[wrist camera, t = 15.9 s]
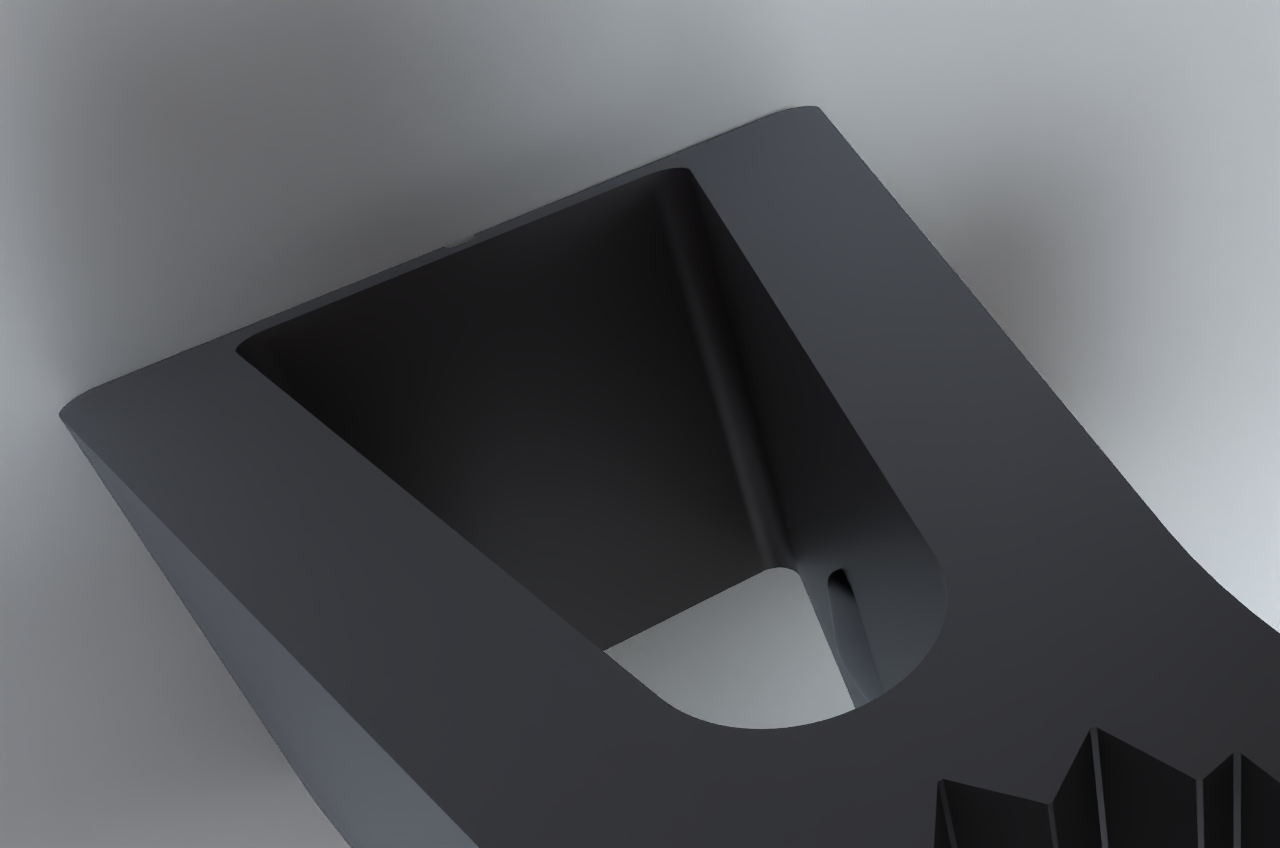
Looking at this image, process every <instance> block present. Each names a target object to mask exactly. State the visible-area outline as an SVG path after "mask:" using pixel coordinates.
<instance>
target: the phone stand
mask: <svg viewBox="0 0 1280 848" xmlns="http://www.w3.org/2000/svg"><path fill="white" fill-rule="evenodd" d="M59 417H60V418H61V420H62V421H63V423H64V424H65V426H66V427H67V429H68V430H69V432H70V433H71V435H72V436H73V438H74V439H75V441H76V442H77V444H78V445H79V447H80V448H81V450H82V451H83V453H84V454H85V456H86V457H87V459H88V460H89V462H90V463H91V465H92V466H93V468H94V469H95V471H96V472H97V474H98V475H99V477H100V478H101V480H102V481H103V483H104V484H105V486H106V487H107V489H108V490H109V492H110V493H111V495H112V496H113V498H114V499H115V501H116V502H117V504H118V505H119V507H120V509H121V510H122V512H123V513H124V515H125V516H126V518H127V519H128V521H129V522H130V524H131V525H132V527H133V528H134V530H135V531H136V533H137V534H138V536H139V537H140V539H141V540H142V542H143V543H144V545H145V546H146V548H147V549H148V551H149V552H150V554H151V555H152V557H153V558H154V560H155V561H156V563H157V564H158V566H159V567H160V569H161V570H162V572H163V573H164V575H165V576H166V578H167V579H168V581H169V582H170V584H171V585H172V587H173V588H174V590H175V591H176V593H177V594H178V596H179V597H180V599H181V600H182V602H183V604H184V605H185V607H186V608H187V610H188V611H189V613H190V614H191V616H192V617H193V619H194V620H195V622H196V623H197V625H198V626H199V628H200V629H201V631H202V632H203V634H204V635H205V637H206V638H207V640H208V641H209V643H210V644H211V646H212V647H213V649H214V650H215V652H216V653H217V655H218V656H219V658H220V659H221V661H222V662H223V664H224V665H225V667H226V668H227V670H228V671H229V673H230V674H231V676H232V677H233V679H234V680H235V682H236V683H237V685H238V686H239V688H240V689H241V691H242V692H243V694H244V696H245V697H246V699H247V700H248V702H249V703H250V705H251V706H252V708H253V709H254V711H255V712H256V714H257V715H258V717H259V718H260V720H261V721H262V723H263V724H264V726H265V727H266V729H267V730H268V732H269V733H270V735H271V736H272V738H273V739H274V741H275V742H276V744H277V745H278V747H279V748H280V750H281V751H282V753H283V754H284V756H285V757H286V759H287V760H288V762H289V763H290V765H291V766H292V768H293V769H294V771H295V772H296V774H297V775H298V777H299V778H300V780H301V781H302V783H303V784H304V786H305V788H306V789H307V791H308V792H309V794H310V795H311V797H312V798H313V800H314V801H315V802H316V804H317V805H318V806H319V807H320V809H321V810H322V811H323V812H324V814H325V815H326V816H327V818H328V819H329V820H330V821H331V823H332V824H333V825H334V826H335V828H336V829H337V830H338V831H339V833H340V834H341V835H342V836H343V838H344V839H345V840H346V841H347V843H348V844H349V845H350V846H351V848H1280V633H1278V632H1277V631H1276V630H1274V629H1273V628H1272V627H1271V626H1269V625H1268V624H1267V623H1265V622H1264V621H1263V620H1261V619H1260V618H1259V617H1258V616H1256V615H1255V614H1254V613H1252V612H1251V611H1250V610H1249V609H1248V608H1247V607H1245V606H1244V605H1243V604H1242V603H1241V602H1240V601H1238V600H1237V599H1236V598H1235V597H1234V596H1233V595H1231V594H1230V593H1229V592H1228V591H1227V590H1226V589H1224V588H1223V587H1222V586H1221V585H1220V584H1219V583H1218V582H1217V581H1216V580H1215V579H1214V578H1213V577H1212V576H1211V575H1209V574H1208V573H1207V572H1206V571H1205V570H1204V569H1203V568H1202V567H1201V566H1200V565H1199V564H1198V563H1197V562H1196V561H1195V560H1194V559H1193V558H1192V557H1191V556H1190V555H1189V554H1188V553H1187V551H1186V550H1185V549H1184V548H1183V547H1182V546H1181V545H1180V544H1179V542H1178V541H1177V540H1176V539H1175V538H1174V537H1173V536H1172V535H1171V533H1170V532H1169V531H1168V530H1167V529H1166V528H1165V526H1164V525H1163V524H1162V523H1161V522H1160V520H1159V519H1158V518H1157V517H1156V515H1155V514H1154V513H1153V512H1152V511H1151V509H1150V508H1149V507H1148V506H1147V505H1146V503H1145V502H1144V501H1143V500H1142V499H1141V497H1140V496H1139V495H1138V494H1137V492H1136V491H1135V490H1134V489H1133V488H1132V486H1131V485H1130V484H1129V483H1128V482H1127V480H1126V479H1125V478H1124V477H1123V475H1122V474H1121V473H1120V472H1119V471H1118V469H1117V468H1116V467H1115V466H1114V465H1113V463H1112V462H1111V461H1110V460H1109V458H1108V457H1107V456H1106V455H1105V454H1104V452H1103V451H1102V450H1101V449H1100V448H1099V446H1098V445H1097V444H1096V443H1095V442H1094V440H1093V439H1092V438H1091V437H1090V435H1089V434H1088V433H1087V432H1086V431H1085V429H1084V428H1083V427H1082V426H1081V425H1080V423H1079V422H1078V421H1077V420H1076V418H1075V417H1074V416H1073V415H1072V414H1071V412H1070V411H1069V410H1068V409H1067V408H1066V406H1065V405H1064V404H1063V403H1062V401H1061V400H1060V399H1059V398H1058V397H1057V395H1056V394H1055V393H1054V392H1053V391H1052V389H1051V388H1050V387H1049V386H1048V385H1047V383H1046V382H1045V381H1044V380H1043V378H1042V377H1041V376H1040V375H1039V374H1038V372H1037V371H1036V370H1035V369H1034V368H1033V366H1032V365H1031V364H1030V363H1029V361H1028V360H1027V359H1026V358H1025V357H1024V355H1023V354H1022V353H1021V352H1020V351H1019V349H1018V348H1017V347H1016V346H1015V345H1014V343H1013V342H1012V341H1011V340H1010V338H1009V337H1008V336H1007V335H1006V334H1005V332H1004V331H1003V330H1002V329H1001V328H1000V326H999V325H998V324H997V323H996V321H995V320H994V319H993V318H992V317H991V315H990V314H989V313H988V312H987V311H986V309H985V308H984V307H983V306H982V304H981V303H980V302H979V301H978V300H977V298H976V297H975V296H974V295H973V294H972V292H971V291H970V290H969V289H968V288H967V286H966V285H965V284H964V283H963V281H962V280H961V279H960V278H959V277H958V275H957V274H956V273H955V272H954V271H953V269H952V268H951V267H950V266H949V264H948V263H947V262H946V261H945V260H944V258H943V257H942V256H941V255H940V254H939V252H938V251H937V250H936V249H935V247H934V246H933V245H932V244H931V243H930V241H929V240H928V239H927V238H926V237H925V235H924V234H923V233H922V232H921V231H920V229H919V228H918V227H917V226H916V224H915V223H914V222H913V221H912V220H911V218H910V217H909V216H908V215H907V214H906V212H905V211H904V210H903V209H902V207H901V206H900V205H899V204H898V203H897V201H896V200H895V199H894V198H893V197H892V195H891V194H890V193H889V192H888V190H887V189H886V188H885V187H884V186H883V184H882V183H881V182H880V181H879V180H878V178H877V177H876V176H875V175H874V174H873V172H872V171H871V170H870V169H869V167H868V166H867V165H866V164H865V163H864V161H863V160H862V159H861V158H860V157H859V155H858V154H857V153H856V152H855V150H854V149H853V148H852V147H851V146H850V144H849V143H848V142H847V141H846V140H845V138H844V137H843V136H842V135H841V133H840V132H839V131H838V130H837V129H836V127H835V126H834V125H833V124H832V123H831V121H830V120H829V119H828V118H827V117H826V115H825V114H824V113H823V112H822V110H821V109H820V108H819V107H816V106H803V107H796V108H791V109H787V110H784V111H781V112H778V113H775V114H772V115H770V116H768V117H765V118H763V119H760V120H758V121H755V122H753V123H750V124H748V125H745V126H743V127H740V128H738V129H735V130H733V131H730V132H728V133H725V134H723V135H720V136H718V137H715V138H713V139H711V140H708V141H706V142H703V143H701V144H698V145H696V146H693V147H691V148H688V149H686V150H683V151H681V152H678V153H676V154H673V155H671V156H668V157H666V158H663V159H661V160H658V161H656V162H653V163H651V164H649V165H646V166H644V167H641V168H639V169H636V170H634V171H631V172H629V173H626V174H624V175H621V176H619V177H616V178H614V179H611V180H609V181H606V182H604V183H601V184H599V185H596V186H594V187H591V188H589V189H587V190H584V191H582V192H579V193H577V194H574V195H572V196H569V197H567V198H564V199H562V200H559V201H557V202H554V203H552V204H549V205H547V206H544V207H542V208H539V209H537V210H534V211H532V212H529V213H527V214H525V215H522V216H520V217H517V218H515V219H512V220H510V221H507V222H505V223H502V224H500V225H497V226H495V227H492V228H490V229H487V230H485V231H482V232H480V233H477V234H475V236H474V238H473V239H472V240H470V241H469V242H467V243H465V244H463V245H460V246H457V247H453V248H445V247H443V248H440V249H438V250H435V251H433V252H430V253H428V254H425V255H423V256H420V257H418V258H415V259H413V260H410V261H408V262H406V263H403V264H401V265H398V266H396V267H393V268H391V269H388V270H386V271H383V272H381V273H378V274H376V275H373V276H371V277H368V278H366V279H363V280H361V281H358V282H356V283H353V284H351V285H348V286H346V287H344V288H341V289H339V290H336V291H334V292H331V293H329V294H326V295H324V296H321V297H319V298H316V299H314V300H311V301H309V302H306V303H304V304H301V305H299V306H296V307H294V308H291V309H289V310H286V311H284V312H282V313H279V314H277V315H274V316H272V317H269V318H267V319H264V320H262V321H259V322H257V323H254V324H252V325H249V326H247V327H244V328H242V329H239V330H237V331H234V332H232V333H229V334H227V335H224V336H222V337H220V338H217V339H215V340H212V341H210V342H207V343H205V344H202V345H200V346H197V347H195V348H192V349H190V350H187V351H185V352H182V353H180V354H177V355H175V356H172V357H170V358H167V359H165V360H162V361H160V362H158V363H155V364H153V365H150V366H148V367H145V368H143V369H140V370H138V371H135V372H133V373H130V374H128V375H125V376H123V377H120V378H118V379H115V380H113V381H110V382H108V383H105V384H103V385H101V386H98V387H96V388H94V389H91V390H89V391H87V392H85V393H84V394H82V395H80V396H78V397H77V398H75V399H74V400H72V401H71V402H69V403H68V404H67V405H66V406H65V407H64V408H63V409H62V410H61V411H60V413H59ZM777 567H784V568H789V569H792V570H794V571H796V572H797V573H798V574H799V575H800V577H801V579H802V582H803V584H804V587H805V589H806V591H807V594H808V596H809V599H810V601H811V603H812V606H813V608H814V611H815V613H816V615H817V618H818V620H819V622H820V625H821V627H822V630H823V632H824V634H825V637H826V639H827V642H828V644H829V646H830V649H831V651H832V654H833V656H834V658H835V661H836V663H837V665H838V668H839V670H840V673H841V675H842V677H843V680H844V682H845V685H846V687H847V689H848V692H849V694H850V697H851V699H852V701H853V704H854V706H855V708H856V709H854V710H852V711H849V712H847V713H845V714H842V715H839V716H836V717H833V718H830V719H827V720H823V721H820V722H815V723H811V724H806V725H801V726H795V727H788V728H778V729H744V728H735V727H728V726H722V725H717V724H713V723H709V722H706V721H703V720H700V719H697V718H694V717H692V716H689V715H687V714H685V713H683V712H681V711H679V710H677V709H675V708H674V707H672V706H671V705H669V704H668V703H666V702H665V701H664V700H662V699H661V698H660V697H658V696H657V695H656V694H655V693H654V692H652V691H651V690H650V689H649V688H647V687H646V686H645V685H644V684H642V683H641V682H640V681H639V680H638V679H636V678H635V677H634V676H633V675H631V674H630V673H629V672H628V671H627V670H625V669H624V668H623V667H622V666H620V665H619V664H618V663H617V662H615V661H614V660H613V659H612V658H611V657H609V656H608V655H607V654H606V653H604V652H603V651H604V650H606V649H608V648H610V647H612V646H614V645H616V644H618V643H620V642H622V641H624V640H626V639H628V638H630V637H632V636H634V635H636V634H638V633H640V632H642V631H644V630H646V629H648V628H650V627H652V626H654V625H656V624H658V623H660V622H662V621H664V620H666V619H668V618H670V617H672V616H674V615H676V614H678V613H680V612H682V611H684V610H686V609H688V608H690V607H692V606H694V605H696V604H698V603H700V602H702V601H704V600H706V599H708V598H710V597H712V596H714V595H716V594H718V593H720V592H722V591H724V590H726V589H728V588H730V587H732V586H734V585H736V584H738V583H740V582H742V581H744V580H746V579H748V578H750V577H752V576H754V575H757V574H759V573H761V572H763V571H765V570H767V569H771V568H777ZM838 569H841V570H842V571H843V573H844V575H845V576H846V578H847V580H848V582H849V584H850V586H851V588H852V591H853V593H854V596H855V599H856V602H857V606H858V609H859V613H860V616H861V620H862V623H863V626H864V630H865V633H866V637H867V640H868V644H869V647H870V650H871V654H872V657H873V661H874V664H875V667H876V671H877V674H878V678H879V681H880V685H881V688H882V691H883V695H881V696H879V697H878V698H876V699H874V700H872V701H871V702H869V703H868V702H867V701H866V699H865V698H864V696H863V695H862V693H861V692H860V690H859V689H858V687H857V686H856V684H855V683H854V681H853V680H852V678H851V677H850V675H849V674H848V672H847V671H846V669H845V667H844V666H843V664H842V662H841V660H840V657H839V655H838V652H837V649H836V645H835V639H834V633H833V626H832V619H831V612H830V606H829V599H828V592H827V581H828V577H829V576H830V574H831V573H832V572H834V571H835V570H838Z"/></svg>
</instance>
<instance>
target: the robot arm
mask: <svg viewBox="0 0 1280 848" xmlns="http://www.w3.org/2000/svg"><path fill="white" fill-rule="evenodd" d="M827 592H828V599H829V606H830V612H831V619H832V626H833V633H834V639H835V645H836V649H837V652H838V655H839V657H840V660H841V662H842V664H843V666H844V667H845V669H846V671H847V672H848V674H849V675H850V677H851V678H852V680H853V681H854V683H855V684H856V686H857V687H858V689H859V690H860V692H861V693H862V695H863V696H864V698H865V699H866V701H867V702H868V703H869V702H871V701H872V700H874V699H876V698H878V697H879V696H881V695H883V691H882V688H881V685H880V681H879V678H878V674H877V671H876V667H875V664H874V661H873V657H872V654H871V650H870V647H869V644H868V640H867V637H866V633H865V630H864V626H863V623H862V620H861V616H860V613H859V609H858V606H857V602H856V599H855V596H854V593H853V591H852V588H851V586H850V584H849V582H848V580H847V578H846V576H845V575H844V573H843V571H842V570H841V569H838V570H835V571H834V572H832V573H831V574H830V576H829V577H828V581H827Z"/></svg>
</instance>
